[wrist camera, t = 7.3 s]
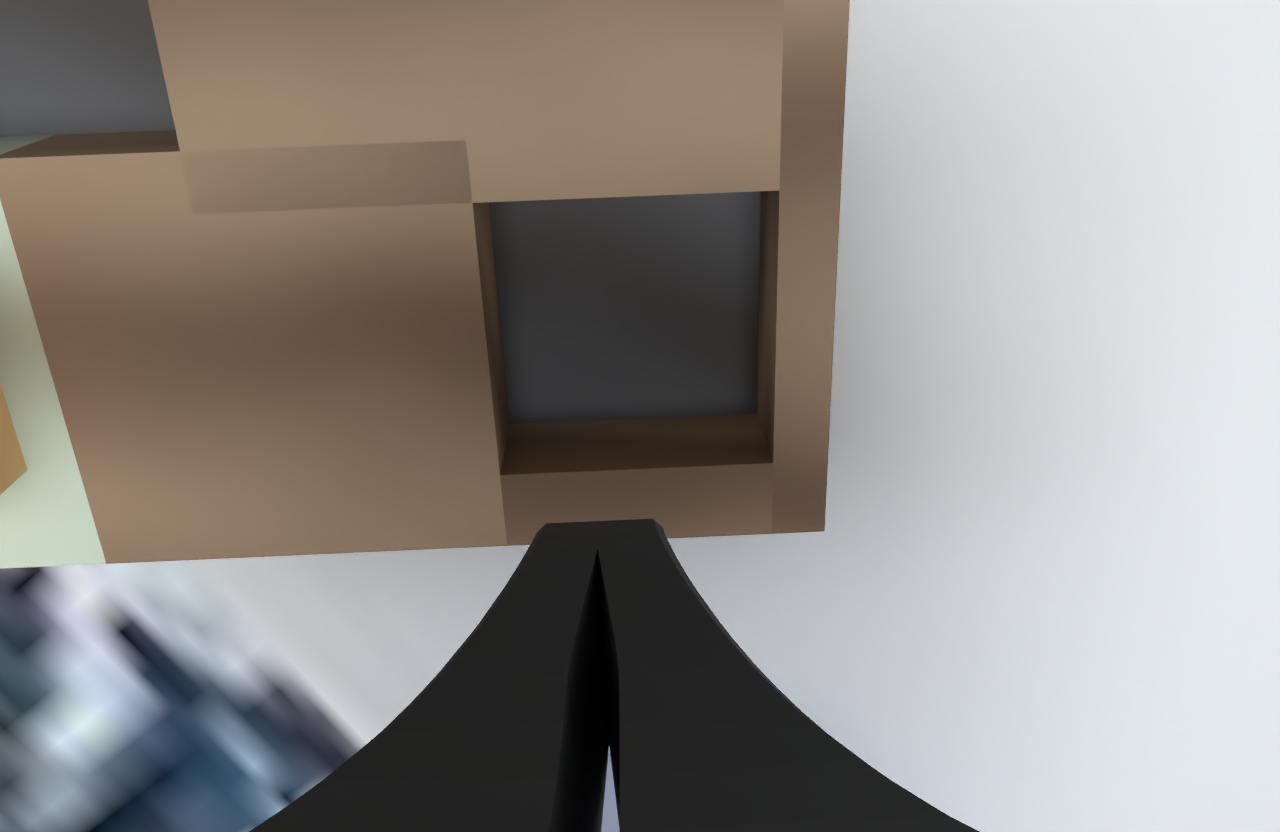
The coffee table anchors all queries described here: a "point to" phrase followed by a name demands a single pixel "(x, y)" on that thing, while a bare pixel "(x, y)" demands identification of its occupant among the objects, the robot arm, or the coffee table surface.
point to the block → (9, 449)
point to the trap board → (414, 271)
